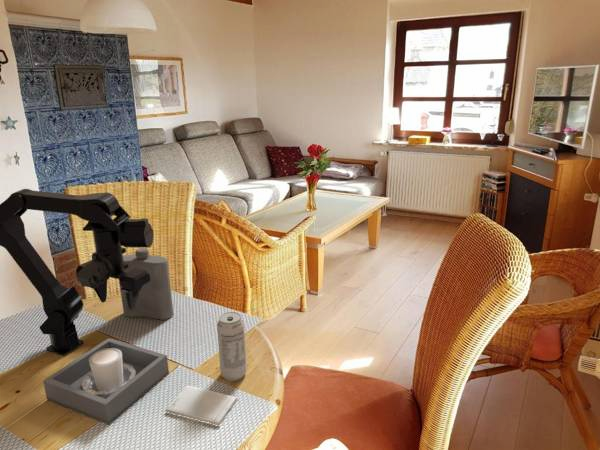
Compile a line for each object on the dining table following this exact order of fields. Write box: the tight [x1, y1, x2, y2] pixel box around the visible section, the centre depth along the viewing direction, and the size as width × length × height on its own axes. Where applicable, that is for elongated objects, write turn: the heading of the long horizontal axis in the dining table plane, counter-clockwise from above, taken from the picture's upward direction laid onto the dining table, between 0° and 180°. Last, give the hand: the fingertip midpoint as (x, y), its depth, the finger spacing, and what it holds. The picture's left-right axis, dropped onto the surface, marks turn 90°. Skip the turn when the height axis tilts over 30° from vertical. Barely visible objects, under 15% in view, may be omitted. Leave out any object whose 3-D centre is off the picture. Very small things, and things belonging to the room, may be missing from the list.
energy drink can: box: [216, 311, 248, 382], centre depth 104 cm, size 6×6×15 cm
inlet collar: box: [81, 363, 136, 399], centre depth 102 cm, size 11×11×2 cm
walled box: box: [42, 337, 170, 426], centre depth 102 cm, size 18×18×5 cm
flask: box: [118, 247, 174, 321], centre depth 131 cm, size 15×6×20 cm, turn 80°
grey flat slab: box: [165, 385, 239, 427], centre depth 96 cm, size 2×8×12 cm
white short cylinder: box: [89, 348, 123, 391], centre depth 102 cm, size 7×7×7 cm
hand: (117, 305), depth 114 cm, fingers open, 9 cm apart
